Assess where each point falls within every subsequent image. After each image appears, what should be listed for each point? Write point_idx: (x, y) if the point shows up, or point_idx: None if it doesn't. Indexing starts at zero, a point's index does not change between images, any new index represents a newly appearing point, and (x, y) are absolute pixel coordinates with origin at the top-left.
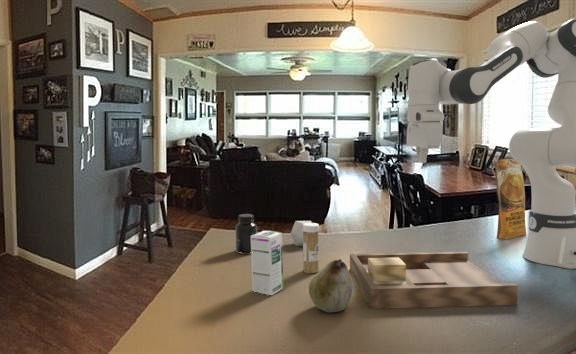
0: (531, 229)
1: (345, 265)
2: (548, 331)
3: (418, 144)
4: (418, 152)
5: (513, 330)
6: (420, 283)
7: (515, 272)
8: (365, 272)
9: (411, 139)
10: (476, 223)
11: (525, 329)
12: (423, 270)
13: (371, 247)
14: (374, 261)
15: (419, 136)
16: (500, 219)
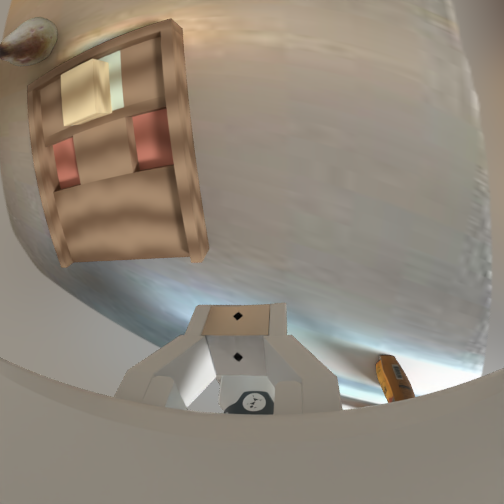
0: (255, 392)
1: (2, 57)
2: (35, 255)
3: (92, 417)
4: (287, 374)
5: (28, 226)
6: (74, 146)
7: (191, 311)
8: (72, 63)
9: (478, 465)
10: (467, 347)
11: (33, 237)
12: (124, 158)
13: (358, 87)
14: (76, 72)
15: (29, 494)
16: (388, 382)
